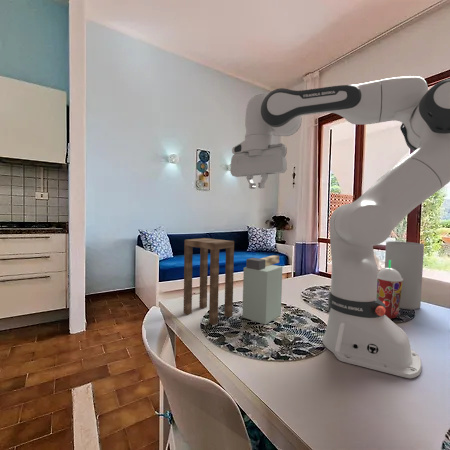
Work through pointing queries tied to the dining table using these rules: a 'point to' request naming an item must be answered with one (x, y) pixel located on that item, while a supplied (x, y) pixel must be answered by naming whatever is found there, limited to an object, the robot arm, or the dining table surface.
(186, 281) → the plant stand
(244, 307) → the pale green block
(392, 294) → the smoothie
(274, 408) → the dining table surface
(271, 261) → the mallet
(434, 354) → the dining table surface
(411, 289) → the cylinder vase
